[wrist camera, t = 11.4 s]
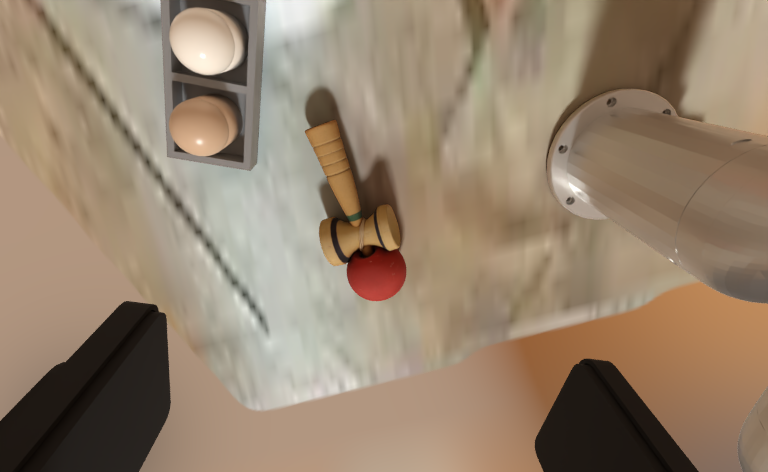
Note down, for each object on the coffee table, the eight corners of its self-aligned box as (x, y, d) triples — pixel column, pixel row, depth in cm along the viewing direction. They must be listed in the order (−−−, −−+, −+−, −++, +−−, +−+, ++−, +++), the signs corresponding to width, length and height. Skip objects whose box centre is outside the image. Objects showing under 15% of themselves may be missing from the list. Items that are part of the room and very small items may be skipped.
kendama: (279, 140, 38) (347, 299, 43) (273, 141, 32) (353, 326, 37) (354, 112, 38) (412, 272, 43) (362, 108, 32) (428, 294, 37)
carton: (266, 1, 31) (243, -10, 25) (256, 163, 37) (236, 185, 31) (174, -19, 30) (128, -36, 24) (179, 150, 36) (142, 170, 30)
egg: (248, 13, 31) (222, 10, 26) (250, 72, 33) (227, 81, 28) (190, 6, 31) (152, 1, 25) (197, 67, 33) (162, 74, 27)
